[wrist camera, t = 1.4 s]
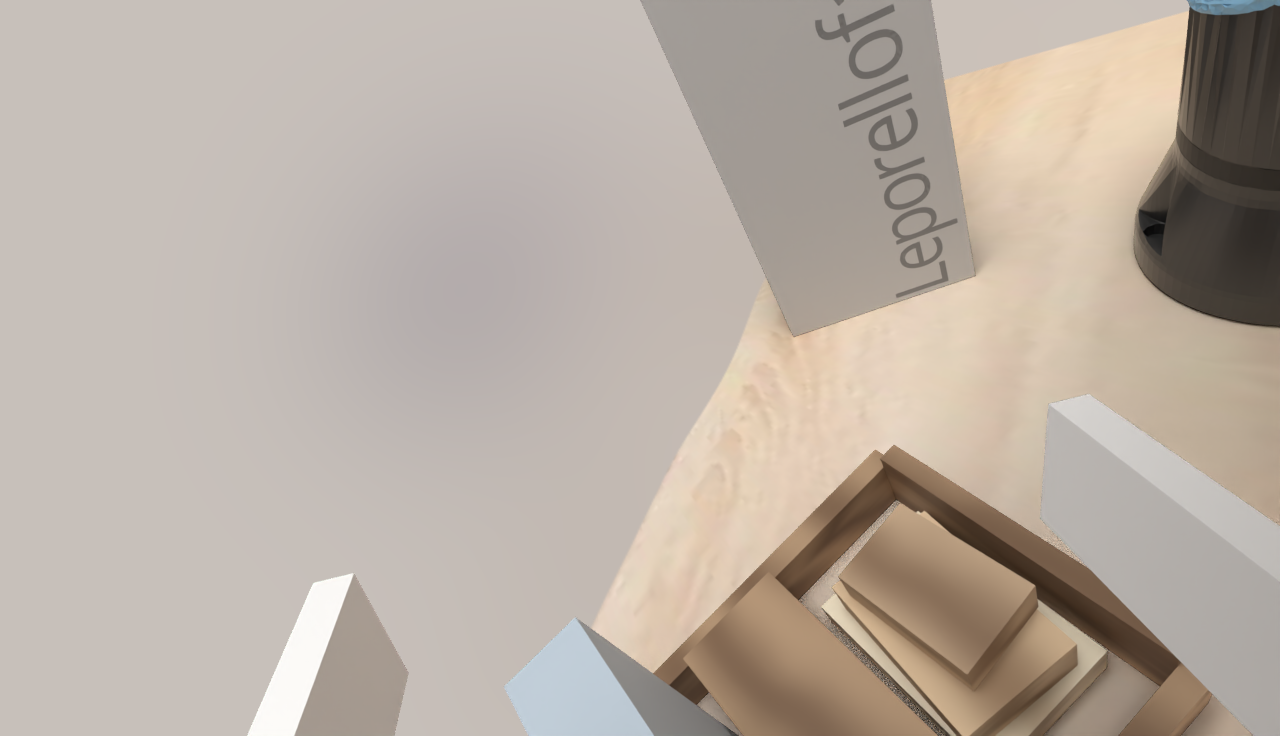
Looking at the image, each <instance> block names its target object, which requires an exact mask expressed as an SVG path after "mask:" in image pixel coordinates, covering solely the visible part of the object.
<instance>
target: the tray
mask: <svg viewBox="0 0 1280 736" xmlns="http://www.w3.org/2000/svg"><path fill="white" fill-rule="evenodd" d="M896 499H897V500H898V501H899V502H901V503H902V504H904V505H905V506H906V507H908V508H909V509H911V510H912V511H914V512H917V511H919V512H920V513H922V512H923V511H925V512H927V513H928V514H929V515H930V516H931V517H932V518H933V519H935V520H936V521H937V522H938V523H939V524H940V525H941V526H943V527H944V528H945V529H946V530H947V531H948V532H949V533H951V534H952V535H953V536H955V537H957V538H958V539H960V540H962V541H963V542H965V543H967V544H968V545H970V546H972V547H973V548H975V549H976V550H978V551H980V552H981V553H983V554H985V555H986V556H988V557H990V558H991V559H993V560H994V561H996V562H998V563H999V564H1001V565H1003V566H1004V567H1006V568H1008V569H1009V570H1011V571H1012V572H1014V573H1016V574H1017V575H1019V576H1021V577H1022V578H1024V579H1026V580H1027V581H1029V582H1031V583H1032V584H1034V585H1035V586H1036V593H1037V599H1038V600H1039V601H1041V602H1042V603H1044V604H1045V605H1046V606H1048V607H1049V608H1051V609H1052V610H1053V611H1055V612H1056V613H1058V614H1059V615H1060V616H1062V617H1063V618H1065V619H1066V620H1068V621H1069V622H1070V623H1072V624H1073V625H1075V626H1076V627H1077V628H1079V629H1080V630H1082V631H1083V632H1084V633H1086V634H1087V635H1089V636H1090V637H1092V638H1093V639H1094V640H1096V641H1097V642H1099V643H1100V644H1101V645H1103V646H1104V647H1106V648H1107V649H1109V650H1110V651H1111V652H1113V653H1114V654H1116V655H1117V656H1118V657H1120V658H1121V659H1123V660H1124V661H1125V662H1127V663H1128V664H1130V665H1131V666H1133V667H1134V668H1135V669H1137V670H1138V671H1140V672H1141V673H1142V674H1144V675H1145V676H1147V677H1148V678H1149V679H1151V680H1152V681H1154V682H1155V683H1157V684H1158V685H1159V686H1160V688H1159V689H1158V690H1157V691H1156V692H1155V693H1154V695H1153V696H1152V697H1151V698H1150V699H1149V700H1148V702H1147V703H1146V704H1145V705H1144V706H1143V707H1142V709H1141V710H1140V711H1139V712H1138V713H1137V714H1136V716H1135V717H1134V718H1133V719H1132V720H1131V721H1130V723H1129V724H1128V725H1127V726H1126V727H1125V729H1124V730H1123V731H1122V732H1121V733H1120V734H1119V736H1181V735H1182V734H1183V733H1184V731H1185V730H1186V729H1187V728H1188V727H1189V725H1190V724H1191V723H1192V722H1193V721H1194V719H1195V718H1196V717H1197V716H1198V715H1199V714H1200V712H1201V711H1202V710H1203V709H1204V708H1205V706H1206V705H1207V704H1208V702H1209V700H1210V697H1211V695H1212V693H1211V692H1210V691H1209V690H1208V689H1207V688H1206V687H1205V686H1204V685H1203V684H1202V683H1201V682H1200V681H1199V680H1198V679H1197V678H1196V677H1195V676H1194V675H1193V674H1192V673H1191V672H1190V671H1189V670H1188V669H1187V668H1186V667H1185V666H1184V665H1183V664H1182V663H1181V662H1180V661H1179V660H1178V659H1177V658H1176V657H1175V655H1174V654H1173V653H1172V652H1171V651H1170V650H1169V649H1168V648H1167V647H1166V646H1165V645H1164V644H1163V643H1162V642H1161V641H1160V640H1159V639H1158V638H1157V637H1156V636H1155V635H1154V634H1153V633H1152V632H1151V631H1150V630H1149V629H1148V628H1147V627H1146V626H1145V625H1144V624H1143V623H1142V622H1141V621H1140V620H1139V619H1138V618H1137V617H1136V616H1135V615H1134V614H1133V613H1132V612H1131V611H1130V610H1129V609H1128V608H1127V607H1126V606H1125V605H1124V604H1123V603H1122V601H1121V600H1120V599H1119V598H1118V597H1117V596H1116V595H1115V594H1114V593H1113V592H1112V591H1111V590H1110V589H1109V588H1108V587H1107V586H1106V585H1105V584H1104V583H1103V582H1102V581H1101V580H1100V579H1099V578H1098V577H1097V576H1096V575H1095V574H1094V573H1093V572H1092V571H1091V570H1090V569H1088V568H1087V567H1085V566H1084V565H1082V564H1080V563H1079V562H1077V561H1076V560H1074V559H1073V558H1071V557H1069V556H1068V555H1066V554H1065V553H1063V552H1062V551H1060V550H1058V549H1057V548H1055V547H1054V546H1052V545H1051V544H1049V543H1047V542H1046V541H1044V540H1043V539H1041V538H1040V537H1038V536H1036V535H1035V534H1033V533H1032V532H1030V531H1029V530H1027V529H1025V528H1024V527H1022V526H1021V525H1019V524H1018V523H1016V522H1014V521H1013V520H1011V519H1010V518H1008V517H1007V516H1005V515H1003V514H1002V513H1000V512H999V511H997V510H996V509H994V508H992V507H991V506H989V505H988V504H986V503H985V502H983V501H982V500H980V499H978V498H977V497H975V496H974V495H972V494H971V493H969V492H967V491H966V490H964V489H963V488H961V487H960V486H958V485H956V484H955V483H953V482H952V481H950V480H949V479H947V478H945V477H944V476H942V475H941V474H939V473H938V472H936V471H934V470H933V469H931V468H930V467H928V466H927V465H925V464H923V463H922V462H920V461H919V460H917V459H916V458H914V457H912V456H911V455H909V454H908V453H906V452H905V451H903V450H901V449H900V448H898V447H897V446H895V445H893V446H892V447H891V448H890V449H889V450H888V451H887V452H886V453H885V454H884V455H883V454H881V453H880V452H878V451H877V450H874V451H873V452H872V453H871V454H870V455H869V456H868V457H867V458H866V459H865V460H864V462H863V463H862V464H861V465H860V466H859V467H858V468H857V469H856V470H855V471H854V472H853V473H852V474H851V475H850V476H849V477H848V478H847V479H846V480H845V481H844V482H843V483H842V484H841V485H840V486H839V487H838V488H837V489H836V490H835V491H834V492H833V493H832V494H831V495H830V496H829V497H828V498H827V499H826V500H825V501H824V502H823V503H822V504H821V505H820V506H819V507H818V508H817V509H816V510H815V511H814V512H813V513H812V514H811V515H810V516H809V517H808V518H807V519H806V520H805V521H804V522H803V523H802V524H801V525H800V526H799V527H798V528H797V529H796V530H795V531H794V532H793V533H792V534H791V535H790V536H789V537H788V538H787V539H786V540H785V541H784V542H783V543H782V544H781V545H780V546H779V547H778V548H777V549H776V550H775V551H774V552H773V553H772V554H771V555H770V556H769V557H768V558H767V559H766V560H765V561H764V562H763V563H762V564H761V565H760V566H759V567H758V568H757V569H756V570H755V571H754V572H753V573H752V574H751V575H750V576H749V577H748V578H747V579H746V580H745V582H744V583H743V584H742V585H741V586H740V587H739V588H738V589H737V590H736V591H735V592H734V593H733V594H732V595H731V596H730V597H729V598H728V599H727V600H726V601H725V602H724V603H723V604H722V605H721V606H720V607H719V608H718V609H717V610H716V611H715V612H714V613H713V614H712V615H711V616H710V617H709V618H708V619H707V620H706V621H705V622H704V623H703V624H702V625H701V626H700V627H699V628H698V629H697V630H696V631H695V632H694V633H693V634H692V635H691V636H690V637H689V638H688V639H687V640H686V641H685V642H684V643H683V644H682V645H681V646H680V647H679V648H678V649H677V650H676V651H675V652H674V653H673V654H672V655H671V656H670V657H669V658H668V659H667V660H666V661H665V662H664V663H663V664H662V665H661V666H660V667H659V668H658V669H657V670H656V671H655V672H654V673H653V674H654V675H656V676H657V677H658V678H660V679H661V680H662V681H664V682H665V683H667V684H668V685H669V686H671V687H672V688H673V689H675V690H676V691H678V692H679V693H680V694H682V695H683V696H684V697H686V698H687V699H689V700H690V701H691V702H693V703H694V704H695V705H697V703H698V702H699V701H700V700H701V699H702V698H703V697H704V696H705V695H706V694H707V693H708V692H709V693H710V694H711V695H712V696H713V698H714V699H715V700H716V702H717V703H718V704H719V705H720V707H721V708H722V709H723V711H724V712H725V713H726V714H727V716H728V717H729V718H730V719H731V721H732V722H733V723H734V725H735V726H736V727H737V728H738V730H739V731H740V732H741V734H742V735H743V736H938V735H937V734H936V733H935V732H934V731H933V730H932V729H931V728H930V727H929V726H927V725H926V724H925V723H924V722H923V721H922V720H921V719H920V718H919V717H918V716H917V715H916V714H915V713H914V712H913V711H912V710H911V709H910V708H909V707H908V706H907V705H906V704H905V703H904V702H903V701H902V700H901V699H900V698H899V697H898V696H896V695H895V694H894V693H893V692H892V691H891V690H890V689H889V688H888V687H887V686H886V685H885V684H884V683H883V682H882V681H881V680H880V679H879V678H878V677H877V676H876V675H875V674H874V673H873V672H872V671H871V670H870V669H869V668H868V667H867V666H865V665H864V664H863V663H862V662H861V661H860V660H859V659H858V658H857V657H856V656H855V655H854V654H853V653H852V652H851V651H850V650H849V649H848V648H847V647H846V646H845V645H844V644H843V643H842V642H841V641H840V640H839V639H838V638H837V637H836V636H834V635H833V634H832V633H831V632H830V631H829V630H828V629H827V628H826V627H825V626H824V625H823V624H822V623H821V622H820V621H819V620H818V619H817V618H816V617H815V616H814V615H813V614H812V613H811V612H810V611H809V610H808V609H807V608H806V607H805V606H803V605H802V604H801V603H800V602H799V601H798V600H799V599H800V598H801V597H802V595H803V594H804V593H805V592H806V591H807V590H808V589H809V588H810V587H811V586H812V585H813V584H814V583H815V582H816V581H817V580H818V579H819V578H820V577H821V576H822V575H823V574H824V573H825V572H826V571H827V570H828V569H829V568H830V567H831V566H832V565H833V564H834V563H835V562H836V561H837V559H838V558H839V557H840V556H841V555H842V554H843V553H844V552H845V551H846V550H847V549H848V548H849V547H850V546H851V545H852V544H853V543H854V542H855V541H856V540H857V539H858V538H859V537H860V536H861V535H862V534H863V533H864V532H865V531H866V530H867V529H868V528H869V527H870V526H871V525H872V523H873V522H874V521H875V520H876V519H877V518H878V517H879V516H880V515H881V514H882V513H883V512H884V511H885V510H886V509H887V508H888V507H889V506H890V505H891V504H892V503H893V502H894V501H895V500H896Z"/></svg>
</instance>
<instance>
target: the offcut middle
mask: <svg viewBox="0 0 1280 736" xmlns="http://www.w3.org/2000/svg"><path fill="white" fill-rule="evenodd" d="M920 515H921V516H922V517H924V518H926V519H927V520H929V521H931V522H932V523H934V524H935V525H937V526H939V527H940V528H942V529H944V530H945V531H947V530H946V529H945V528H944V527H943V526H941V525H940V524H939V523H938V522H937V521H936V520H935V519H933V518H932V517H931V516H930V515H929V514H928V513H927V512H925V511H923V512H922V513H921V514H920ZM947 532H948V531H947ZM950 534H951V533H950ZM832 589H833V590H834V592H835V593H836V595H837V596H838V598H839V599H840V601H841V603H842V604H843V606H844V607H845V609H846V610H847V611H848V612H849V613H850V614H851V615H852V617H853V618H854V619H855V620H856V621H857V622H858V623H859V625H860V626H861V627H862V628H863V629H864V630H865V631H866V633H867V634H868V635H869V636H870V637H871V638H872V639H873V641H874V642H875V643H876V644H877V645H878V646H879V648H880V649H881V650H882V651H883V652H884V653H885V654H886V656H887V657H888V658H889V659H890V660H891V661H892V662H893V664H894V665H895V666H896V667H897V668H898V669H899V670H900V672H901V673H902V674H903V675H904V676H905V677H906V678H907V680H908V681H909V682H910V683H911V684H912V685H913V686H914V688H915V689H916V690H917V691H918V692H919V693H920V694H921V696H922V697H923V698H924V699H925V700H926V701H927V703H928V704H929V705H930V706H931V707H932V708H933V709H934V711H935V712H936V713H937V714H938V715H939V716H940V717H941V719H942V720H943V721H944V722H945V723H946V724H947V725H948V727H949V728H950V729H951V730H952V731H953V732H954V733H955V735H956V736H996V735H997V734H998V733H999V732H1000V731H1001V730H1003V729H1004V728H1005V727H1006V726H1007V725H1008V724H1010V723H1011V722H1012V721H1013V720H1014V719H1015V718H1017V717H1018V716H1019V715H1020V714H1021V713H1022V712H1024V711H1025V710H1026V709H1027V708H1028V707H1030V706H1031V705H1032V704H1033V703H1034V702H1035V701H1037V700H1038V699H1039V698H1040V697H1041V696H1042V695H1044V694H1045V693H1046V692H1047V691H1048V690H1049V689H1051V688H1052V687H1053V686H1054V685H1055V684H1056V683H1058V682H1059V681H1060V680H1061V679H1062V678H1064V677H1065V676H1066V675H1067V674H1068V673H1069V672H1071V671H1072V670H1073V669H1074V668H1075V667H1076V666H1078V657H1077V644H1076V643H1075V642H1074V641H1073V640H1072V639H1071V638H1069V637H1068V636H1067V635H1066V634H1065V633H1064V632H1063V631H1061V630H1060V629H1059V628H1058V627H1057V626H1056V625H1055V624H1053V623H1052V622H1051V621H1050V620H1049V619H1048V618H1047V617H1045V616H1044V615H1043V614H1042V613H1041V612H1040V611H1039V610H1037V609H1036V611H1035V612H1034V613H1033V615H1032V616H1031V617H1030V619H1029V620H1028V621H1027V623H1026V624H1025V625H1024V626H1023V628H1022V629H1021V630H1020V632H1019V633H1018V634H1017V636H1016V637H1015V638H1014V640H1013V641H1012V642H1011V644H1010V645H1009V646H1008V648H1007V649H1006V650H1005V651H1004V653H1003V654H1002V655H1001V657H1000V658H999V659H998V661H997V662H996V663H995V665H994V666H993V667H992V669H991V670H990V671H989V673H988V674H987V675H986V676H985V678H984V679H983V680H982V682H981V683H980V684H979V686H978V687H977V688H976V690H975V691H973V690H971V689H970V688H969V687H967V686H966V685H965V684H963V683H962V682H961V681H960V680H958V679H957V678H956V677H954V676H953V675H952V674H951V673H949V672H948V671H947V670H945V669H944V668H943V667H941V666H940V665H939V664H938V663H936V662H935V661H934V660H932V659H931V658H930V657H929V656H927V655H926V654H925V653H923V652H922V651H921V650H919V649H918V648H917V647H916V646H914V645H913V644H912V643H910V642H909V641H908V640H906V639H905V638H904V637H903V636H901V635H900V634H899V633H897V632H896V631H895V630H894V629H892V628H891V627H890V626H888V625H887V624H886V623H884V622H883V621H882V620H881V619H879V618H878V617H877V616H875V615H874V614H873V613H872V612H870V611H869V610H868V609H866V608H865V607H864V606H862V605H861V604H860V603H859V602H857V601H856V600H855V599H853V598H852V597H851V596H850V595H849V593H848V592H847V590H846V589H845V587H844V585H843V584H842V582H841V580H840V581H839V582H837V583H836V584H835V585H834V586H833V587H832Z"/></svg>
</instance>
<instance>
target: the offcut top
mask: <svg viewBox="0 0 1280 736" xmlns="http://www.w3.org/2000/svg"><path fill="white" fill-rule="evenodd" d="M838 577H839V579H840V580H841V582H842V584H843V585H844V587H845V589H846V590H847V592H848V593H849V595H850V596H851V597H852V598H853V599H855V600H856V601H857V602H859V603H860V604H861V605H862V606H864V607H865V608H866V609H868V610H869V611H870V612H872V613H873V614H874V615H875V616H877V617H878V618H879V619H881V620H882V621H883V622H884V623H886V624H887V625H888V626H890V627H891V628H892V629H894V630H895V631H896V632H897V633H899V634H900V635H901V636H903V637H904V638H905V639H906V640H908V641H909V642H910V643H912V644H913V645H914V646H916V647H917V648H918V649H919V650H921V651H922V652H923V653H925V654H926V655H927V656H929V657H930V658H931V659H932V660H934V661H935V662H936V663H938V664H939V665H940V666H941V667H943V668H944V669H945V670H947V671H948V672H949V673H951V674H952V675H953V676H954V677H956V678H957V679H958V680H960V681H961V682H962V683H963V684H965V685H966V686H967V687H969V688H970V689H971V690H973V691H975V690H976V688H977V687H978V686H979V684H980V683H981V682H982V680H983V679H984V678H985V676H986V675H987V674H988V673H989V671H990V670H991V669H992V667H993V666H994V665H995V663H996V662H997V661H998V659H999V658H1000V657H1001V655H1002V654H1003V653H1004V651H1005V650H1006V649H1007V648H1008V646H1009V645H1010V644H1011V642H1012V641H1013V640H1014V638H1015V637H1016V636H1017V634H1018V633H1019V632H1020V630H1021V629H1022V628H1023V626H1024V625H1025V624H1026V623H1027V621H1028V620H1029V619H1030V617H1031V616H1032V615H1033V613H1034V612H1035V611H1036V609H1037V608H1038V600H1037V593H1036V586H1035V585H1034V584H1032V583H1031V582H1029V581H1027V580H1026V579H1024V578H1022V577H1021V576H1019V575H1017V574H1016V573H1014V572H1012V571H1011V570H1009V569H1008V568H1006V567H1004V566H1003V565H1001V564H999V563H998V562H996V561H994V560H993V559H991V558H990V557H988V556H986V555H985V554H983V553H981V552H980V551H978V550H976V549H975V548H973V547H972V546H970V545H968V544H967V543H965V542H963V541H962V540H960V539H958V538H957V537H955V536H953V535H952V534H950V533H949V532H947V531H945V530H944V529H942V528H940V527H939V526H937V525H935V524H934V523H932V522H931V521H929V520H927V519H926V518H924V517H922V516H921V515H919V514H917V513H916V512H914V511H912V510H911V509H909V508H908V507H906V506H904V505H903V504H901V503H900V504H899V505H898V506H897V507H896V508H895V510H894V511H893V512H892V513H891V514H890V516H889V517H888V518H887V519H886V520H885V522H884V523H883V524H882V525H881V526H880V527H879V529H878V530H877V531H876V532H875V533H874V535H873V536H872V537H871V538H870V539H869V541H868V542H867V543H866V544H865V545H864V547H863V548H862V549H861V550H860V551H859V553H858V554H857V555H856V556H855V557H854V559H853V560H852V561H851V562H850V563H849V564H848V566H847V567H846V568H845V569H844V570H843V572H842V573H841V574H840V575H839V576H838Z"/></svg>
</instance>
